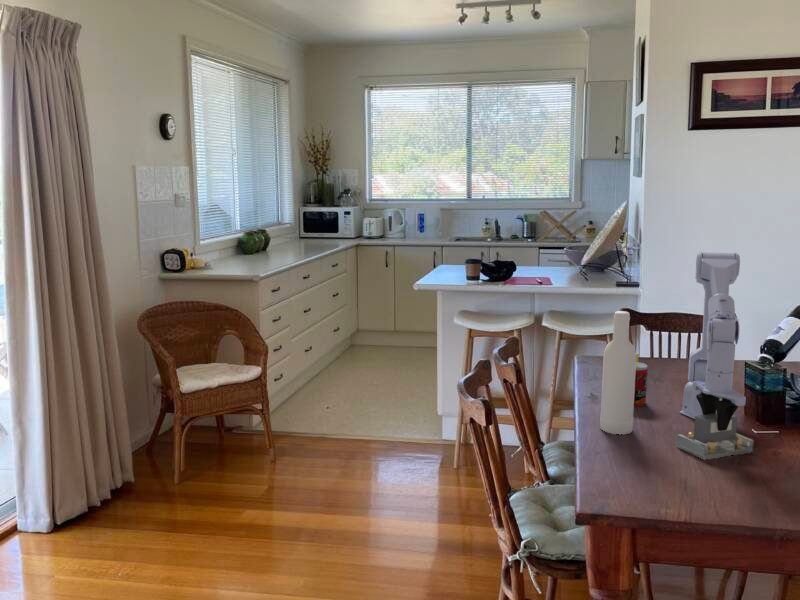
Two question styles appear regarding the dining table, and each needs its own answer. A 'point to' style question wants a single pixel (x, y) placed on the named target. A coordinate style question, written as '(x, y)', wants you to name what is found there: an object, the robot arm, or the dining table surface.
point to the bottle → (618, 379)
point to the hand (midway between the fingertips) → (715, 427)
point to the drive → (713, 429)
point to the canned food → (640, 384)
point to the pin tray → (719, 450)
